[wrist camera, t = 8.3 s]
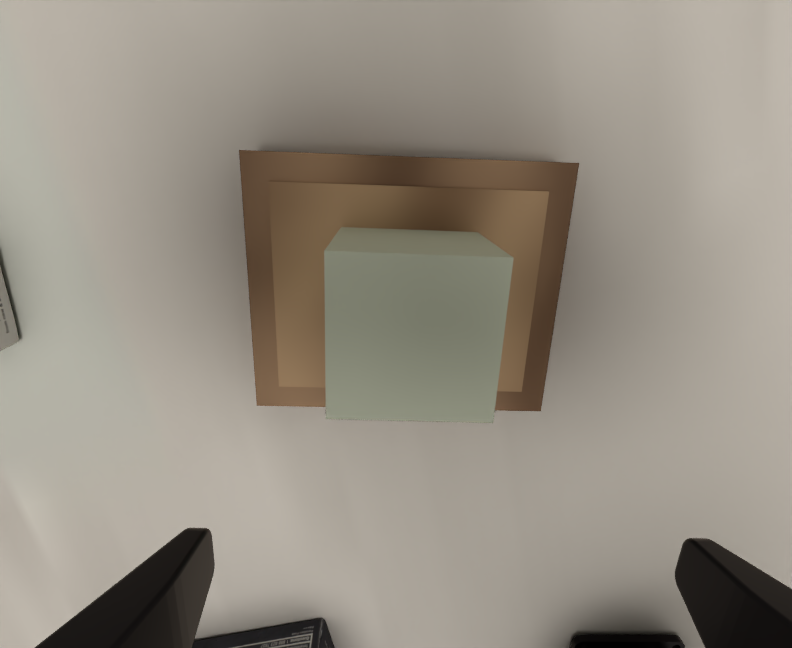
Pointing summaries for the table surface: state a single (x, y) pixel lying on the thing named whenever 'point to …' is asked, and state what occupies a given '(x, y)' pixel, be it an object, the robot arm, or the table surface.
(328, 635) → the small box
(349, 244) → the sage cube
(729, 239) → the table surface
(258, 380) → the brown wooden tray
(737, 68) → the table surface
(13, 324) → the ink box
